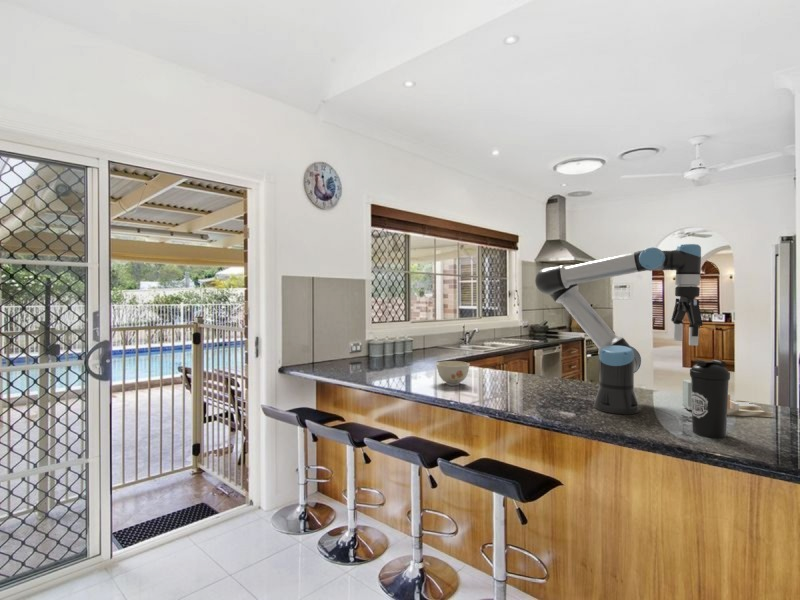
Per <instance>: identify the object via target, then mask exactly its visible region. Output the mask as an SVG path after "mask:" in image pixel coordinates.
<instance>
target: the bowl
mask: <svg viewBox="0 0 800 600" xmlns="http://www.w3.org/2000/svg"><path fill="white" fill-rule="evenodd" d="M436 368H437V373H438V376H439V377H440V378H441V381H444V382H445V384H446V385H447V386H452V387H455V386H460V384H461V382H463V381H464V380H465V379H466V378H467V376H468V373H469V369H470V362H465V361H459V360H458V361H457V360H445V361H439V362H436Z"/></svg>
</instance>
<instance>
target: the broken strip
mask: <svg viewBox="0 0 800 600" xmlns="http://www.w3.org/2000/svg"><path fill="white" fill-rule="evenodd" d="M735 403H738V404H739V405H742V406H758V405H757V404H756V403H753V404H749V403H752V402H735Z"/></svg>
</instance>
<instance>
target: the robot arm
mask: <svg viewBox="0 0 800 600" xmlns="http://www.w3.org/2000/svg"><path fill="white" fill-rule="evenodd" d="M701 266H702V247H701V245H699V244H696V243H685V244H678V245H677V246H676V249H674V250H662V249H660V248H658V247H653V246H652V247H647V248H644V249H643V250H638V251H636V252H635V251H634V252H629V253H624V254H620V255H615V256H611V257H606V258H601V259H598V260H597V259H596V260H592V261H588V262H583V263H577V264H574V265H569V266H566V265H564V264H561V265H556V266H548V267H543V268H542V269H540V270H539V271H538V272H537V274H536V275H535V280H534V281H535V282H534V283H535V286H536V288H537V289H538V290H539V291H540V292H541V293H543V294H544V295H549V296H550V297H551V298H552V299H553V301H554V302H555V303H556V304H561V305H562V306H563V307H564V308H565V310H566V311H567V312H568V313H569V315H570V316H571V317H572V318H573V319H574V320H575V322H576V323H577V324H578V325H579V327H581V329H582V330H583V332H584V333H585V334H586V335H587V336H588V337H589V339H590V340H591V341H592V342H593V343H594V345H595V346H596V347H597V348H598V353H597V354H598V359H599V360H598V362H599V365H598V366H599V367H598V368H599V370H598V371H599V374H598V375H599V377H598V378H599V382H598V383H599V385H598V390H597V393H596V396H595V398H594V403H593V405H594V408H595V409H596V410H599V411H601V412H606V413H611V414H615V415H616V414H617V415H634V414H637V413H639V412H640V407H639V406H640V405H639V401H638V399H637V396H636V393H635V390H634V387H635V386H634V383H635V382H634V381H635V379H634V374H635V373H637V372H638V370H639V369H640V367H641V364H642V356H641V354H640V352H639V351H638V350H637V349H636V348H635V347H633V346H631V345H630V344H629V343H628V342H627V341H626V339H625V338H624V337H623V336H617V335H616V333H614V331H613V330H612V329H611V328H610V326H609V325H608V324H607V323H606V321H605V320H603V319H602V317H601V316H600V315H599V313H597V312H596V310H595V309H594V308H593V307H592V306H591V305H590V303H589V302H588V301H587V300H586V298H585V297H583V295H582V294H581V293H580V291H579V290H580V289H579V285H578V284H584V283H589V282H595V281H598V280H599V281H600V280H603V279H608V278H614V277H619V276H624V275H629V274H634V273H640V272H645V271H646V272H648V271H650V272H652V271H675V272H676V273H675V285H676V286H675V289H674V290H675V291H674V294H675V297H679V298H675V304H674V308H673V312H672V316H671V320H670V321H671V322H672V323H673V338H672V339H673V341H676V342H677V341H678V342H682V341H683V325H684V322H683V320H684V318H685V316H686V315H687V318H688V320H689V326H688V328H689V329H688V346H696V347H698V346H699V334H700V332H699V331H700V327H702V326H703V320H702V314H701V309H700V299H695V298H699V297H700V293H701V291H700V287H699V286H700V284H701V280H702V277H701V268H702V267H701Z"/></svg>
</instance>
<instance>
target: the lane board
mask: <svg viewBox="0 0 800 600" xmlns="http://www.w3.org/2000/svg"><path fill="white" fill-rule="evenodd" d="M730 400H731V399H730ZM731 401H733V402H750V401H749V400H734V399H733V400H731ZM727 416H741V417H742V416H744V417H746V416H747V417H760V418H761V417H762V418H775V413H774V412H773V411H764V410H762V406H759V405H757V406H742V405H739V410H727Z"/></svg>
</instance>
